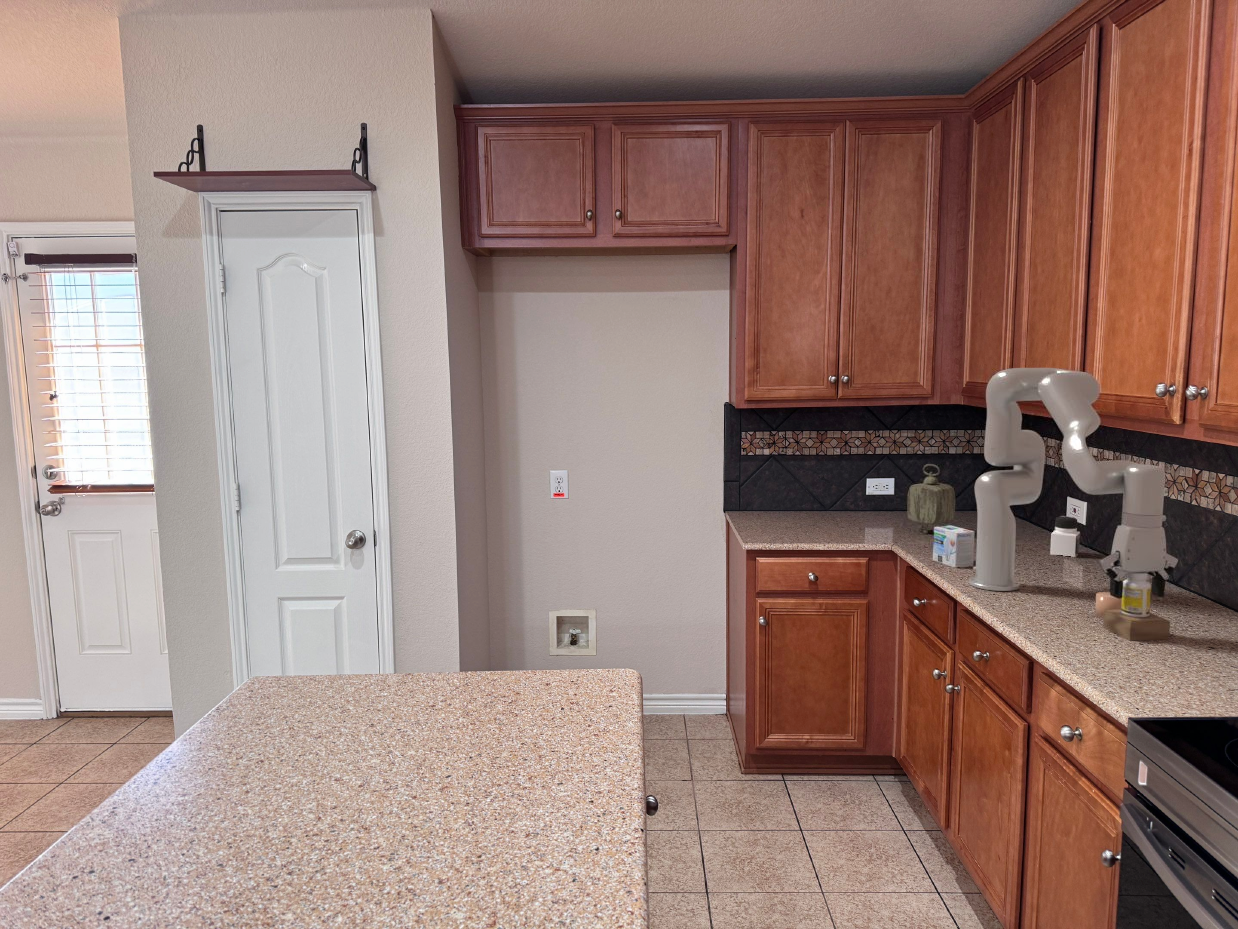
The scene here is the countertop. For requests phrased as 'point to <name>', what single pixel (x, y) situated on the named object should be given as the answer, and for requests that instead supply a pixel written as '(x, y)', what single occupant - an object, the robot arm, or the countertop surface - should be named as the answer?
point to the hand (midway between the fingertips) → (1136, 596)
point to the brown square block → (1136, 626)
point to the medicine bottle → (1065, 537)
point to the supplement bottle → (1136, 595)
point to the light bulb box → (953, 546)
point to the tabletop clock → (931, 502)
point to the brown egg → (1106, 603)
